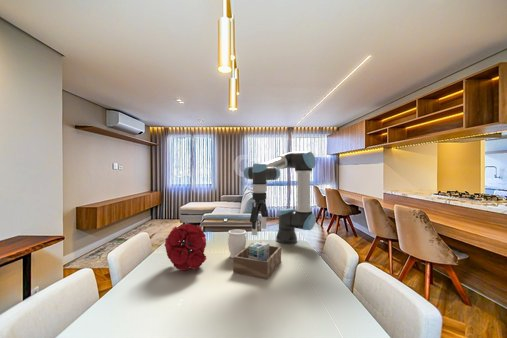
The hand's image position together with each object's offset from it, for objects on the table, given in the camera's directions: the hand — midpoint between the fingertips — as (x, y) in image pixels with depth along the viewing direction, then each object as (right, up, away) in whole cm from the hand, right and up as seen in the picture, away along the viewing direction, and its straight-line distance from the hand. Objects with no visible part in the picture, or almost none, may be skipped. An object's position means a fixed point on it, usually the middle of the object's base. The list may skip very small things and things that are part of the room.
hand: (259, 231), depth 126 cm
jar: (-13, -19, +14) cm, 27 cm away
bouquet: (-38, -19, -1) cm, 42 cm away
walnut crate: (0, -19, 0) cm, 19 cm away
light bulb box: (0, -18, 0) cm, 18 cm away
